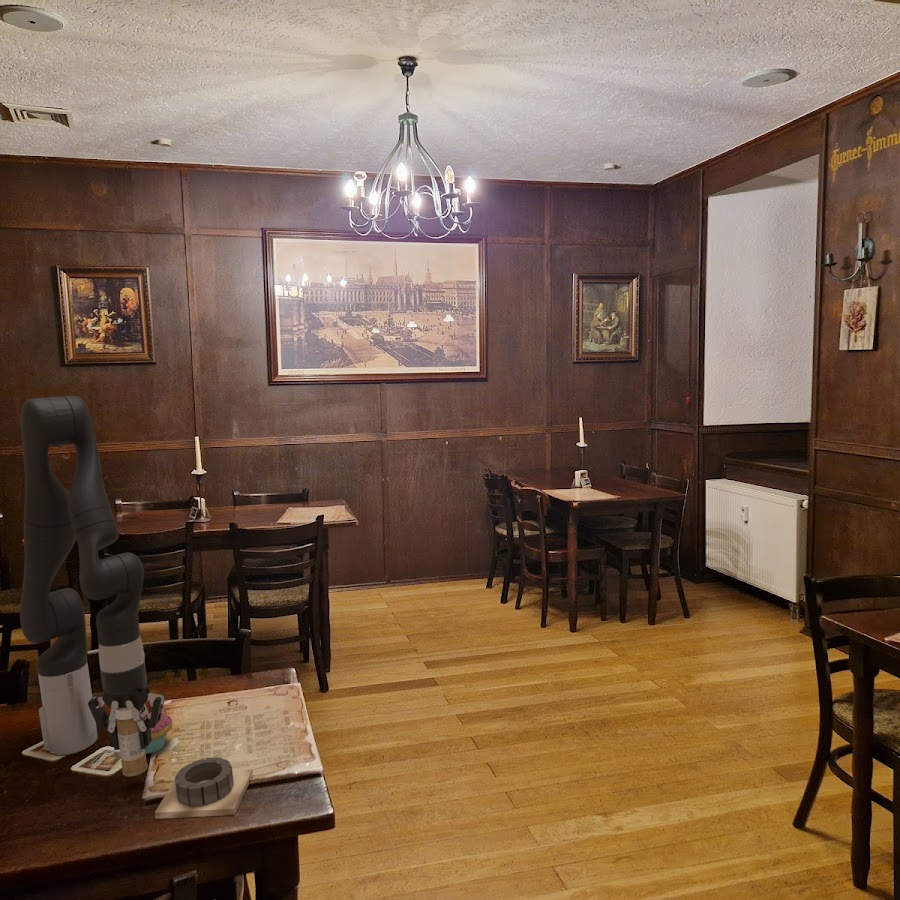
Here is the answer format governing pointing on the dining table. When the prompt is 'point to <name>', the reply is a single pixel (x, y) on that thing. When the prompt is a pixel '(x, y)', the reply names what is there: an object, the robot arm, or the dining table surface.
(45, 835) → the dining table surface
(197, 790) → the ring holder
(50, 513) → the robot arm
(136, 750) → the sprinkles bottle
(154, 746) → the cupcake
